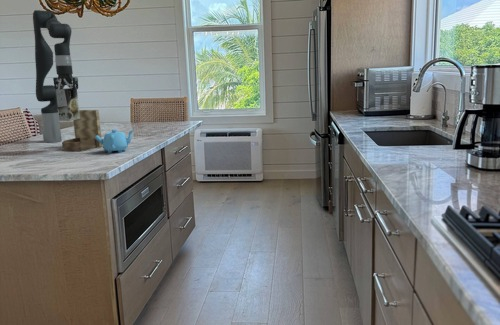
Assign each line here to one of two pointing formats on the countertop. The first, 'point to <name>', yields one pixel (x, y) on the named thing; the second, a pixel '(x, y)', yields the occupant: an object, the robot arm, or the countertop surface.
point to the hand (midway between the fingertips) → (67, 97)
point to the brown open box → (78, 144)
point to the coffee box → (67, 105)
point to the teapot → (115, 141)
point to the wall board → (88, 126)
